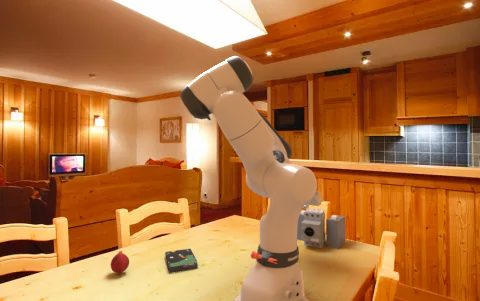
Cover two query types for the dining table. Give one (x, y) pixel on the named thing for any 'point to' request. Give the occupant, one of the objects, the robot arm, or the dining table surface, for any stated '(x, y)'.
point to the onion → (119, 263)
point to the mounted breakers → (329, 230)
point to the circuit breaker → (313, 228)
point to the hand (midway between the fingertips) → (301, 206)
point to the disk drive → (180, 260)
